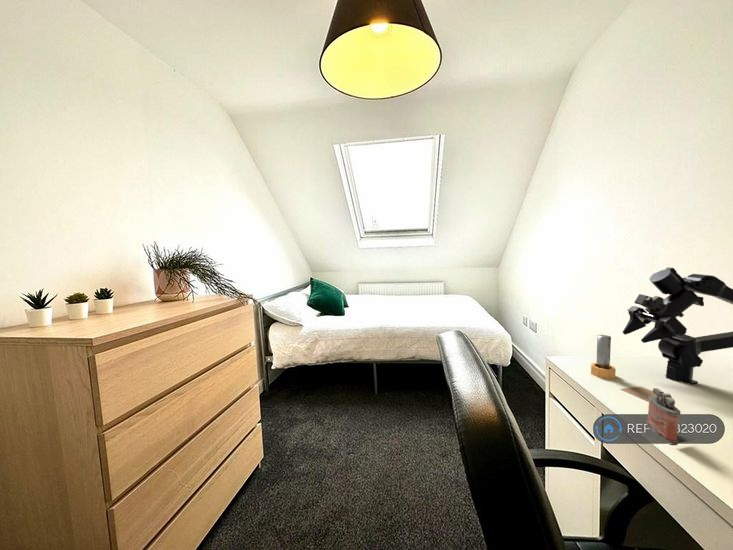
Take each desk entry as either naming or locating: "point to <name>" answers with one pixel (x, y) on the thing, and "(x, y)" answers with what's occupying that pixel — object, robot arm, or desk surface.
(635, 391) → the board
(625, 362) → the desk surface
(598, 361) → the steel peg
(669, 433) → the lighter
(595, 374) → the socket plate
